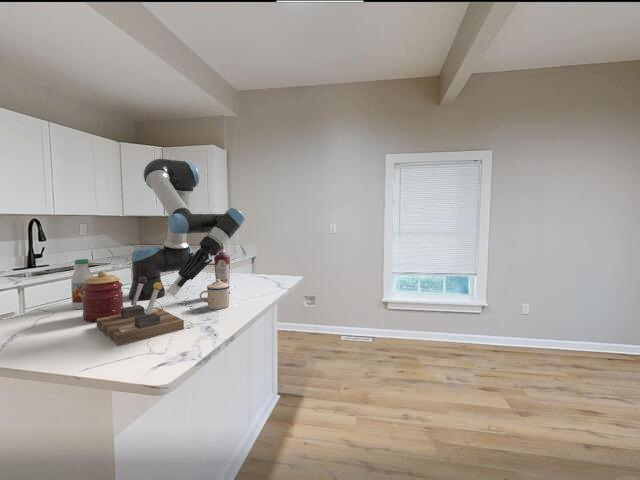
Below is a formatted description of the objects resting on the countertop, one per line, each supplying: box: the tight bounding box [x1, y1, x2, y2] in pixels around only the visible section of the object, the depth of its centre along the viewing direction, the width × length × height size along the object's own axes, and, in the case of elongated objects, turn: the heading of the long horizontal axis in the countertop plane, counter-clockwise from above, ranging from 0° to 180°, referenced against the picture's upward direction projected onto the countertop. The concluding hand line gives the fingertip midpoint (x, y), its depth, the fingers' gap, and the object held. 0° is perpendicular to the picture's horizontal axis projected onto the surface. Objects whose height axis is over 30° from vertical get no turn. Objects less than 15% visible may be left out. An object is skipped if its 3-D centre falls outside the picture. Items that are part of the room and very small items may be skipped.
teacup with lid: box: [199, 278, 230, 310], centre depth 139 cm, size 12×9×12 cm
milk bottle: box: [70, 258, 93, 310], centre depth 137 cm, size 8×8×20 cm
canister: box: [81, 270, 124, 323], centre depth 125 cm, size 13×13×18 cm
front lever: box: [146, 282, 164, 314], centre depth 109 cm, size 3×3×11 cm
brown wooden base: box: [96, 304, 185, 347], centre depth 113 cm, size 23×20×6 cm
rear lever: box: [130, 276, 147, 306], centre depth 119 cm, size 3×3×11 cm
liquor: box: [213, 244, 231, 295], centre depth 156 cm, size 7×7×28 cm
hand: (170, 293), depth 113 cm, fingers closed
